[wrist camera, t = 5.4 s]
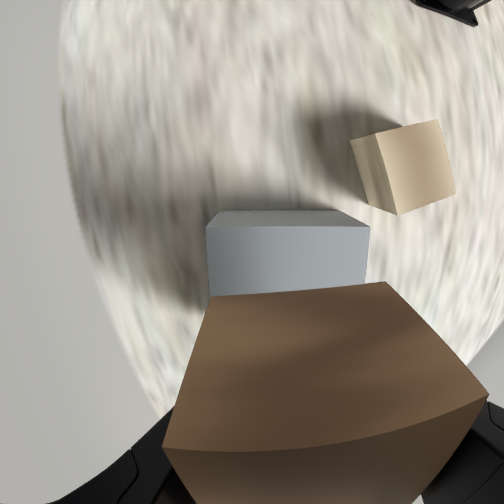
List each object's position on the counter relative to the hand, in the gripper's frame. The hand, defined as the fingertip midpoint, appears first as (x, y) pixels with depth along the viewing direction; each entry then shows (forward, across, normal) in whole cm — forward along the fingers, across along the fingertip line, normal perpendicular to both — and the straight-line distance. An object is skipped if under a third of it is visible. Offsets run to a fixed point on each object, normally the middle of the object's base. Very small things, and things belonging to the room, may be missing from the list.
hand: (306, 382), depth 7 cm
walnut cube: (+1, 0, 0) cm, 1 cm away
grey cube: (+10, 0, 0) cm, 10 cm away
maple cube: (+10, -7, -6) cm, 14 cm away
